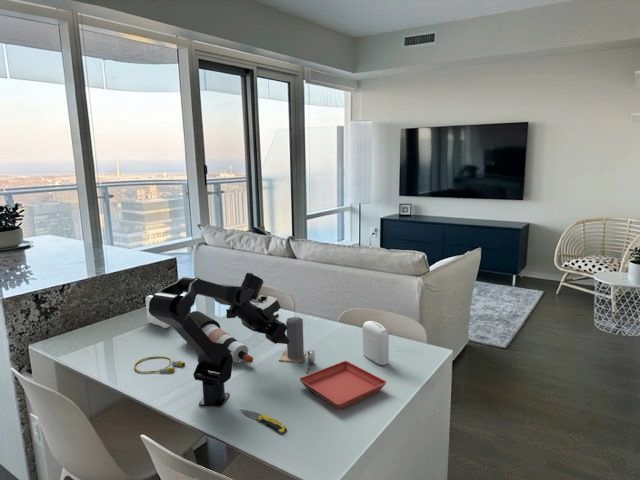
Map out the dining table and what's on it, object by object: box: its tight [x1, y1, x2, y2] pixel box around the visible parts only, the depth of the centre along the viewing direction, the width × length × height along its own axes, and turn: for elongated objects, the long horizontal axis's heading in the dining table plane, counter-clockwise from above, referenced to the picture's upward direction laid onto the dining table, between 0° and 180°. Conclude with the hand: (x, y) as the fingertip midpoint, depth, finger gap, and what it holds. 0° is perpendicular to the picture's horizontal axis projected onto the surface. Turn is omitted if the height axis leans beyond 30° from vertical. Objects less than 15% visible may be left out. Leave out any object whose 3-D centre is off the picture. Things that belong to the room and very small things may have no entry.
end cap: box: [252, 303, 280, 323], centre depth 178 cm, size 10×7×7 cm
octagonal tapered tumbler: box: [285, 316, 305, 359], centre depth 145 cm, size 5×5×12 cm
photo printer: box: [362, 320, 390, 366], centre depth 142 cm, size 10×4×12 cm, turn 29°
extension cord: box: [133, 355, 186, 375], centre depth 141 cm, size 12×16×2 cm
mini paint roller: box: [305, 349, 316, 374], centre depth 138 cm, size 8×2×4 cm, turn 170°
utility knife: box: [240, 408, 288, 435], centre depth 111 cm, size 16×1×3 cm
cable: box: [190, 310, 254, 365], centre depth 150 cm, size 10×34×10 cm, turn 47°
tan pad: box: [278, 349, 308, 363], centre depth 146 cm, size 8×8×1 cm
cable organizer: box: [145, 293, 186, 329], centre depth 179 cm, size 15×11×12 cm
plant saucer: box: [298, 360, 387, 410], centre depth 125 cm, size 18×18×3 cm
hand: (280, 338), depth 141 cm, fingers open, 9 cm apart
